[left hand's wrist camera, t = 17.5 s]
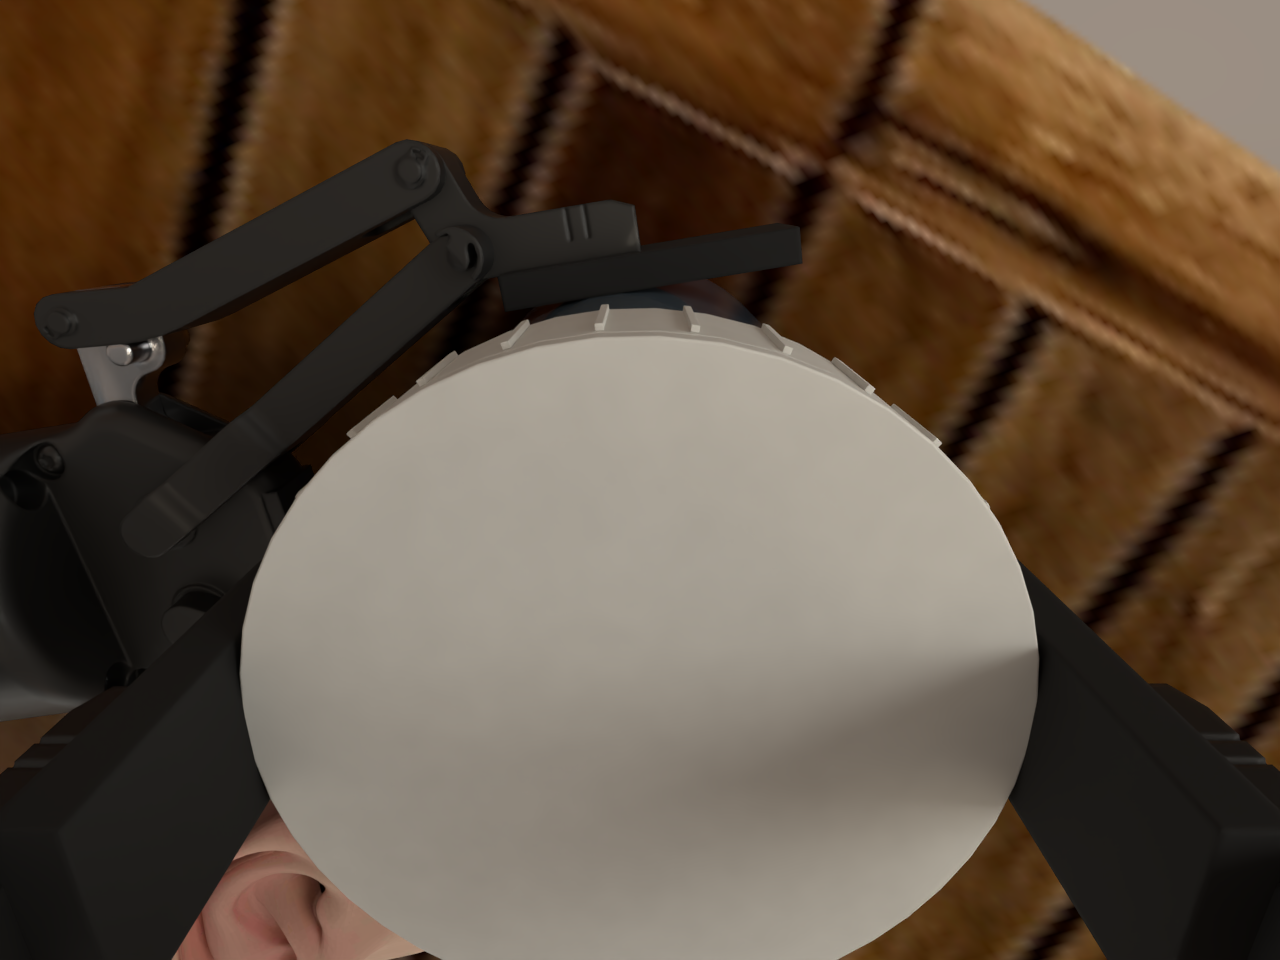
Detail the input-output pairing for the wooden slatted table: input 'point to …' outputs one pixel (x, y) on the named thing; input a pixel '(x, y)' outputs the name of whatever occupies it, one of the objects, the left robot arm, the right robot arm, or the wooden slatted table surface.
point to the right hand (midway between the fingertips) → (807, 458)
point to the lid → (639, 652)
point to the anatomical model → (284, 909)
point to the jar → (656, 302)
